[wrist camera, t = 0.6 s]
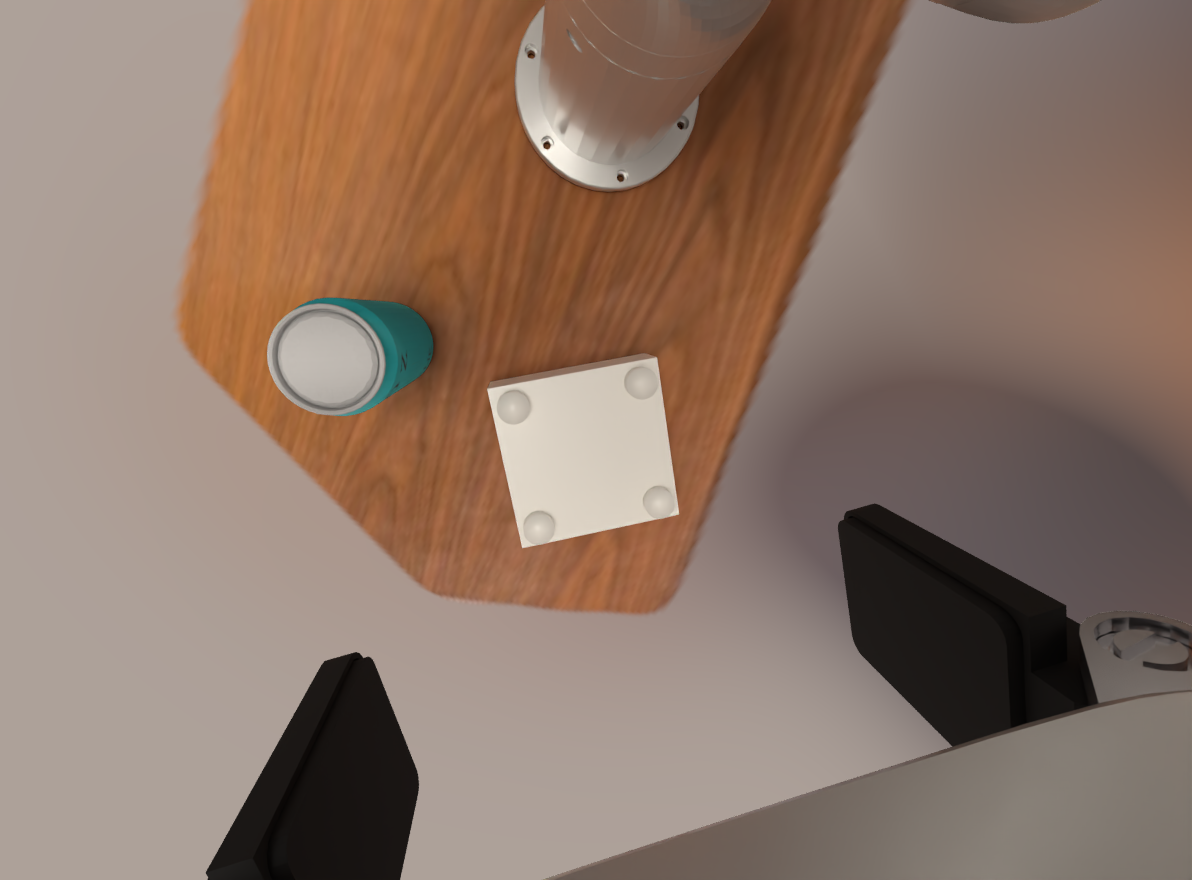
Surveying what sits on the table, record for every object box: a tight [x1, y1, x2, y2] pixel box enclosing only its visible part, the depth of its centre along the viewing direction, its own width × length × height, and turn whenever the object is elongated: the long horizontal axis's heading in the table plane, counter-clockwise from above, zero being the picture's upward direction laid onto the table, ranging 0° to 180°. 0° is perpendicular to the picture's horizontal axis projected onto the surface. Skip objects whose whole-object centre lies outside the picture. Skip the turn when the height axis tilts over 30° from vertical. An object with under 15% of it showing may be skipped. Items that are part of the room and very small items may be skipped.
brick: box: [487, 353, 679, 548], centre depth 41 cm, size 12×12×5 cm
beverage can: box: [267, 298, 433, 416], centre depth 33 cm, size 6×6×15 cm
